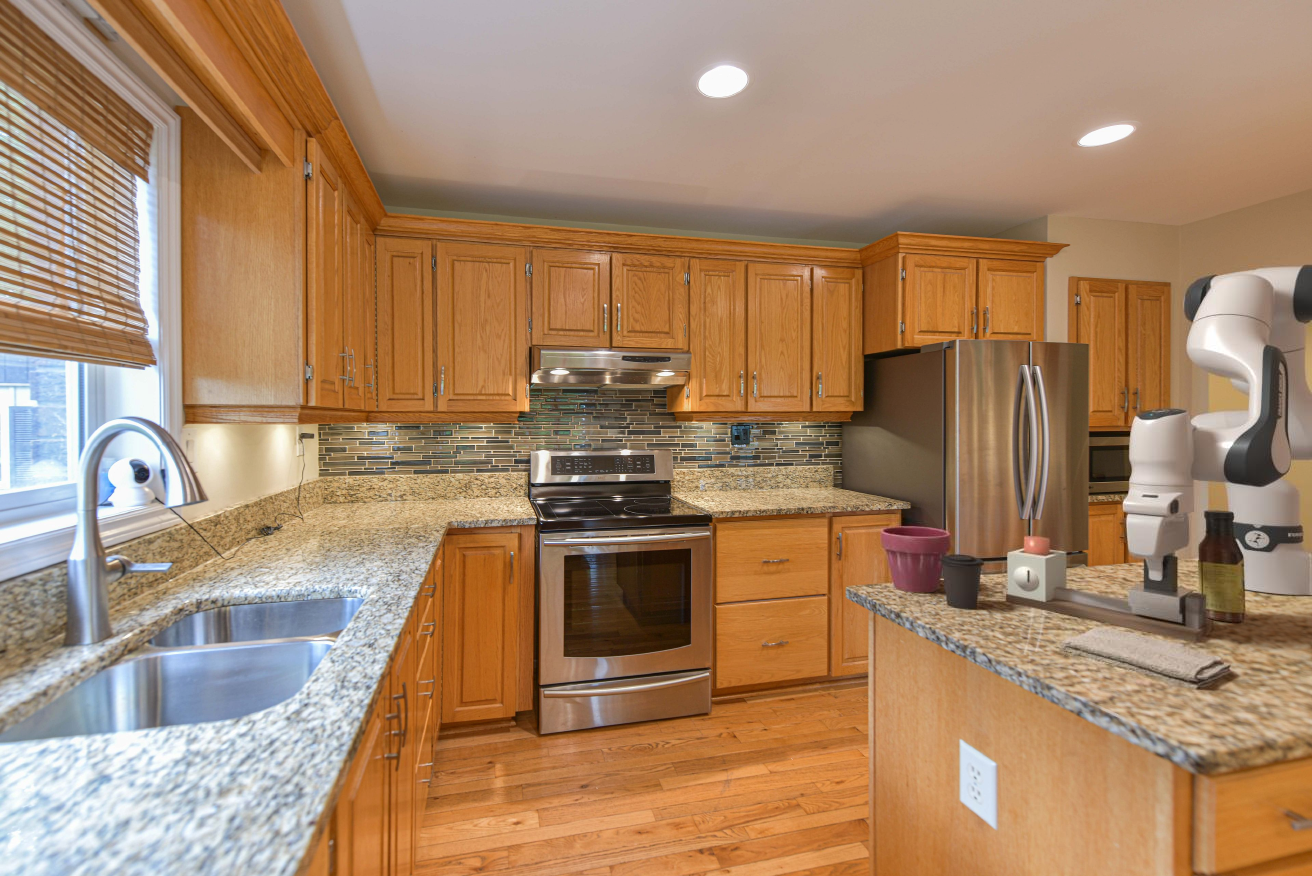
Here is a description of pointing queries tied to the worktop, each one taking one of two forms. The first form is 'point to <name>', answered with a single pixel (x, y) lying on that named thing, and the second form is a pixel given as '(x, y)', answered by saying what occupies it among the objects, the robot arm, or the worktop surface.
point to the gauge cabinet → (1035, 574)
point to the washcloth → (1149, 656)
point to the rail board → (1125, 613)
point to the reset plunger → (1037, 545)
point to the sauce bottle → (1221, 569)
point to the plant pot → (915, 556)
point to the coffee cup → (961, 580)
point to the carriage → (1160, 594)
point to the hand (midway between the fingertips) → (1160, 577)
